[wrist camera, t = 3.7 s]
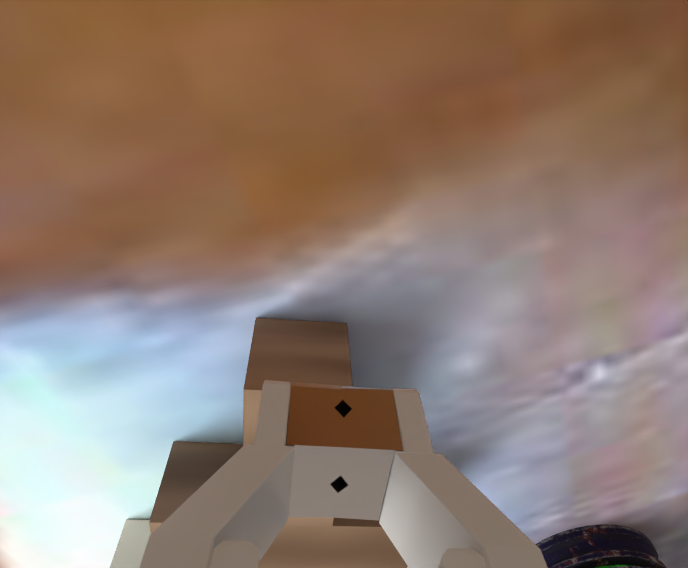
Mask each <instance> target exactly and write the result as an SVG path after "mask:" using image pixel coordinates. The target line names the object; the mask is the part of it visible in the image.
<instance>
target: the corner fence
mask: <svg viewBox="0 0 688 568" xmlns="http://www.w3.org/2000/svg"><path fill="white" fill-rule="evenodd" d="M149 521H150V520H127V519H126V522H125V525H124V528H123V531H122V534H121V537H120V540H119V543H118V545H117V548H116V551H115V554H114V557H113V560H112V563H111V566H110V568H140V564H141V561H142V558H143V555H144V552H145V549H146V546H147V543H148V540H149V537H150V535H151V532H150V525H149Z"/></svg>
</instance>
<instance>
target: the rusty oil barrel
mask: <svg viewBox="0 0 688 568" xmlns="http://www.w3.org/2000/svg"><path fill="white" fill-rule="evenodd" d="M536 546H537V547H538V548H539V549H540V550H541V552H542V555H543V557H544V560H545V562H546V565H547V567H548V568H666V567H665V565H664V564H663V563H662V562H661V561H659V559H658V554H657V552H656V550H655V548H654V546H653V544H652V543H651V541H650V540H649V539H648V538H647V537H646V536H645V535H643V534H642V533H641V532H639V531H636V530H634V529H631V528H627V527H623V526H615V525H595V526H586V527H581V528H576V529H572V530H568V531H564V532H562V533H559V534H556V535H553V536H551V537H549V538H547V539H545V540H543V541H541V542H539V543H537V544H536Z"/></svg>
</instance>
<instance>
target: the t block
mask: <svg viewBox="0 0 688 568" xmlns="http://www.w3.org/2000/svg"><path fill="white" fill-rule="evenodd" d="M265 380H272V381H284V382H290V383H291V382H301V383H313V384H325V385H337V386H353V384H352V373H351V363H350V352H349V342H348V331H347V323H336V322H319V321H302V320H285V319H268V318H256V320H255V326H254V332H253V338H252V344H251V350H250V356H249V361H248V367H247V373H246V379H245V385H244V414H243V444H234V443H204V442H175V441H173V445H172V448H171V451H170V455H169V458H168V461H167V465H166V468H165V471H164V475H163V478H162V481H161V485H160V488H159V491H158V495H157V498H156V501H155V505H154V508H153V511H152V515H151V518H150V521H149V525H150V532H151V534H152V533H153V532H154V531H155V530H156V529H157V528H158V527H159V526H160V525H161V524H162V523H163V522H164V521H165V520H166V519H167V518H168V517H170V516H171V515H172V514H173V513H174V512H175V511H176V510H177V509H178V508H179V507H180V506H181V505H182V504H183V503H184V502H185V501H186V500H187V499H188V498H189V497H190V496H192V495H193V494H194V493H195V492H196V491H197V490H198V489H199V488H200V487H201V486H202V485H203V484H204V483H205V482H206V481H207V480H208V479H209V478H210V477H211V476H213V475H214V474H215V473H216V472H217V471H218V470H219V469H220V468H221V467H222V466H223V465H224V464H225V463H226V462H227V461H228V460H229V459H230V458H231V457H232V456H233V455H235V454H236V453H237V452H238V451H239V450H240V449H241V448H242V447H243V446H244V445H245V444H254V439H255V432H256V426H257V419H258V413H259V406H260V400H261V394H262V387H263V383H264V381H265ZM290 390H291V384H290ZM289 402H290V399H289ZM259 568H407V564H406V563H405V561H404V560H403V558H402V557H401V555H400V553H399V552H398V550H397V549H396V547H395V546H394V544H393V543H392V541H391V540H390V538H389V537H388V535H387V534H386V532H385V531H384V529H383V528H382V526H381V525H380V523H379V520H364V519H349V518H334V517H288V521H287V522H286V524H285V525H284V527H283V528H282V530H281V531H280V532H279V534H278V535H277V537H276V538H275V540H274V541H273V543H272V544H271V546H270V547H269V548H268V550H267V551H266V553H265V554H264V556H263V557H262V559H261V560H260V561H259Z"/></svg>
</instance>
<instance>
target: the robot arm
mask: <svg viewBox="0 0 688 568" xmlns="http://www.w3.org/2000/svg"><path fill="white" fill-rule="evenodd" d="M290 384H291V390H290ZM289 399H290V402H289ZM288 517H334V518H349V519H364V520H379V523H380V525H381V526H382V528H383V529H384V531H385V532H386V534H387V535H388V537H389V538H390V540H391V541H392V543H393V544H394V546H395V547H396V549H397V550H398V552H399V553H400V555H401V557H402V558H403V560H404V561H405V563H406V564H407V566H408V567H409V568H548V567H547V565H546V562H545V560H544V557H543V555H542V552H541V550H540V549H539V548H538V547H537V546H536V545H535V544H534V543H533V542H532V541H531V540H530V539H529V538H528V537H527V536H526V535H525V534H524V533H523V532H522V531H521V530H520V529H519V528H518V527H517V526H516V525H515V524H514V523H513V522H511V521H510V520H509V519H508V518H507V517H506V516H505V515H504V514H503V513H502V512H501V511H500V510H499V509H498V508H497V507H496V506H495V505H494V504H493V503H492V502H491V501H490V500H489V499H488V498H487V497H486V496H485V495H484V494H483V493H482V492H480V491H479V490H478V489H477V488H476V487H475V486H474V485H473V484H472V483H471V482H470V481H469V480H468V479H467V478H466V477H465V476H464V475H463V474H462V473H461V472H460V471H459V470H458V469H457V468H456V467H455V466H454V465H453V464H452V463H451V462H449V461H448V460H447V459H446V458H445V457H444V456H443V455H442V454H436V453H434V452H433V448H432V444H431V440H430V435H429V431H428V427H427V423H426V419H425V415H424V411H423V407H422V403H421V399H420V395H419V392H418V391H417V390H416V389H401V388H391V389H389V388H371V387H353V386H337V385H325V384H313V383H301V382H291V383H290V382H284V381H272V380H265V381H264V383H263V387H262V394H261V400H260V406H259V413H258V419H257V426H256V432H255V439H254V444H245V445H244V446H243V447H242V448H241V449H240V450H239V451H238V452H237V453H236V454H235V455H233V456H232V457H231V458H230V459H229V460H228V461H227V462H226V463H225V464H224V465H223V466H222V467H221V468H220V469H219V470H218V471H217V472H216V473H215V474H214V475H213V476H211V477H210V478H209V479H208V480H207V481H206V482H205V483H204V484H203V485H202V486H201V487H200V488H199V489H198V490H197V491H196V492H195V493H194V494H193V495H192V496H190V497H189V498H188V499H187V500H186V501H185V502H184V503H183V504H182V505H181V506H180V507H179V508H178V509H177V510H176V511H175V512H174V513H173V514H172V515H171V516H170V517H168V518H167V519H166V520H165V521H164V522H163V523H162V524H161V525H160V526H159V527H158V528H157V529H156V530H155V531H154V532H153V533H152V534H151V535H150V537H149V540H148V543H147V546H146V549H145V552H144V555H143V558H142V561H141V564H140V568H259V561H260V560H261V559H262V557H263V556H264V554H265V553H266V551H267V550H268V548H269V547H270V546H271V544H272V543H273V541H274V540H275V538H276V537H277V535H278V534H279V532H280V531H281V530H282V528H283V527H284V525H285V524H286V522H287V521H288Z"/></svg>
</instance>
